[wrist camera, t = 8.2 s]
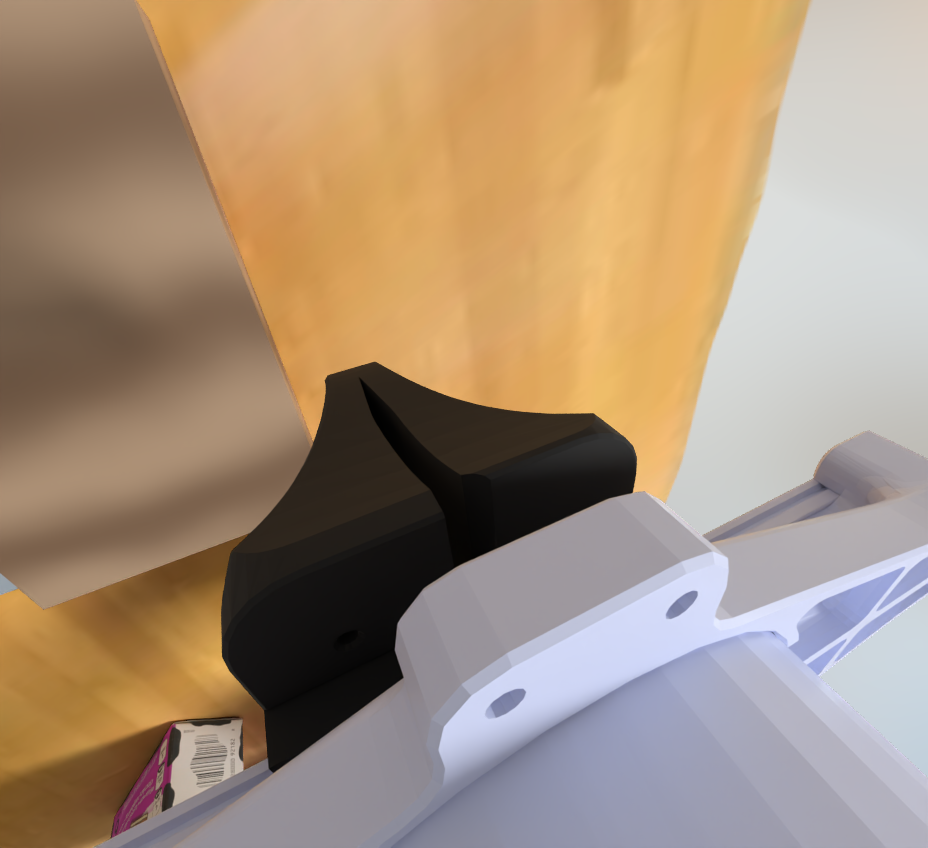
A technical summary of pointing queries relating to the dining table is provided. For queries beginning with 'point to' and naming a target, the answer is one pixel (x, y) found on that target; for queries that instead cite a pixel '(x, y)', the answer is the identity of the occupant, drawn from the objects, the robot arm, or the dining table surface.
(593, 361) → the dining table surface
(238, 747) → the candy bar box
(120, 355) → the brown flat block
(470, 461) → the robot arm
